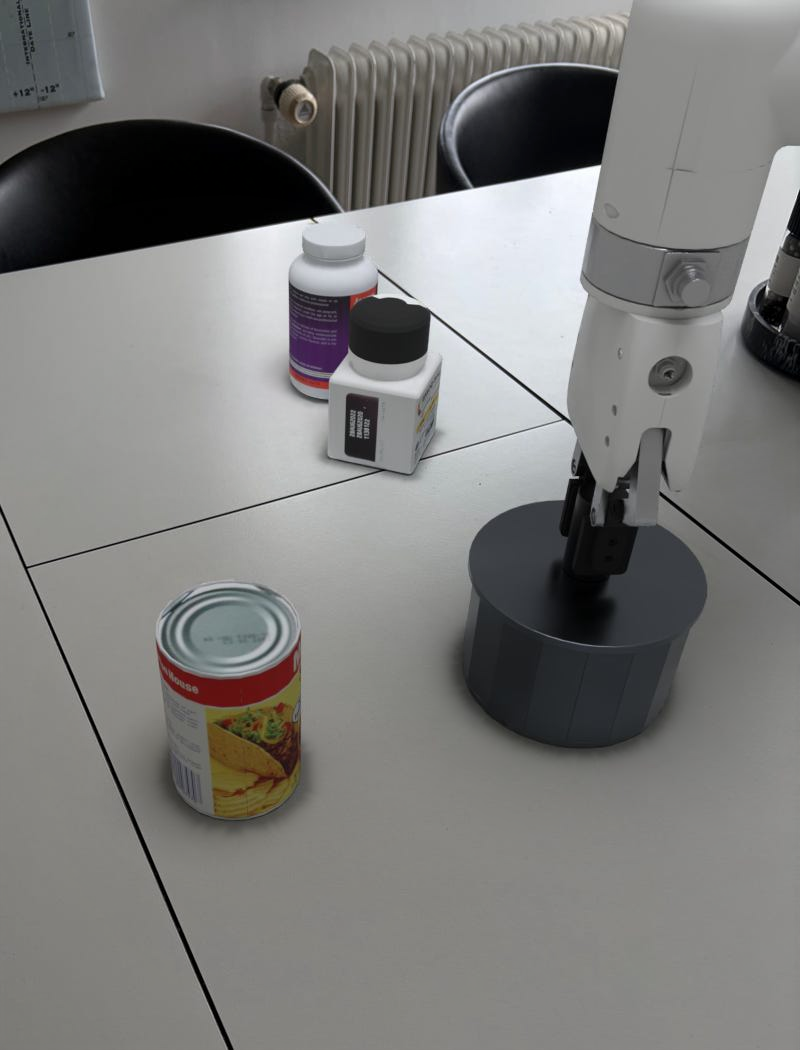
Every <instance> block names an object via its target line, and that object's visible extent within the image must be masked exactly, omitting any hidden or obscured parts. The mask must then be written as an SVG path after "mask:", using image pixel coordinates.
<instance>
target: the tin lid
mask: <svg viewBox="0 0 800 1050" xmlns="http://www.w3.org/2000/svg"><path fill="white" fill-rule="evenodd" d="M595 486H596V480H592V481H588V482H586V483H584V484H582V485H581V486H580V488H579V489H578V494H577V498H576V503H575V507H574V512H573V516H572V521H571V526H570V530H569V535H568V537H564V536H562V535H561V533H560V530H559V525H560V520H561V515H562V511H563V506H564V501H565V499H553V500H552V499H551V500H541V501H535V502H531V503H525V504H522V505H519V506H516V507H513V508H510V509H508V510H506V511H502V512H501V513H499V514H497V515H496V516H494V517H492V518H491V519H489V521H487V523H485V524H484V525H483V526H482V527H481V528H480V529H479V531H478V532H477V533H476V535H475V536H474V538H473V540H472V541H471V545H470V547H469V551H468V559H467V561H468V562H467V570H468V577H469V580H470V583H471V587H472V586H473V588H474V589H475V591H476V593H477V595H478V596H479V598H480V599H481V600H482V602H483V603H484V604H485V605H486V606H487V607H488V608H489V609H490V610H491V611H492V612H493V613H494V614H495V615H496V616H497V617H498V618H500V619H501V620H502V621H504V622H505V623H506V624H508V625H509V626H511V627H513V628H514V629H516V630H517V631H519V632H521V633H523V634H525V635H527V636H529V637H531V638H534V639H536V640H539V641H541V642H544V643H547V644H550V645H553V646H557V647H560V648H563V649H568V650H573V651H578V652H585V653H594V654H627V653H635V652H641V651H646V650H650V649H653V648H657V647H660V646H662V645H665V644H667V643H670V642H672V641H673V640H675V639H677V638H679V637H680V636H682V635H683V634H684V633H685V632H687V631H688V630H689V629H690V628H693V626H694V625H695V624H696V623H697V621H698V620H699V618H700V616H701V614H702V613H703V611H704V608H705V606H706V602H707V598H708V581H707V575H706V574H705V571H704V568H703V566H702V564H701V562H700V561H699V559H698V557H697V556H696V554H694V552H693V551H692V550H691V548H690V547H689V546H688V545H687V544H686V543H685V542H684V541H683V540H681V539H680V538H679V537H678V536H677V535H676V534H674V533H673V532H671V531H670V530H668V529H667V528H666V527H664V526H662V525H660V524H659V523H658V522H657V523H656V525H655V526H640V527H639V528H638V532H637V535H636V539H635V543H634V546H633V550H632V553H631V557H630V561H629V564H628V568H627V571H626V572H625V573H624V574H621V575H576V574H575V573H574V570H573V567H572V564H573V560H574V555H575V551H576V546H577V542H578V537H579V533H580V529H581V524H582V520H583V516H590V512H591V507H592V502H593V496H594V491H595ZM628 497H629V490H628V489H614V491H613V492H611V493H610V498H609V502H610V501H612V500H614V499H628ZM690 630H691V629H690Z"/></svg>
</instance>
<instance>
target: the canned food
mask: <svg viewBox="0 0 800 1050" xmlns="http://www.w3.org/2000/svg"><path fill="white" fill-rule="evenodd" d="M300 617H301V616H300V613H299V612H298V610H297V608H296V607H295V605H294V603H293V602H292V601H291V600H290V599H289V598H288V597H286V596H285V595H284V594H283V593H282V592H280V591H278V590H276V589H275V588H272V587H271V586H270V585H265V584H262V583H259V582H256V581H252V580H244V579H237V578H236V579H217V580H216V579H215V580H212V581H208V582H203V583H199V584H196V585H193V586H192V587H189V588H186V589H185V590H183V591H181V592H180V593H178V594H176V595H175V596H174V597H172V598H171V599H170V600H169V601H168V602H167V603H166V604H165V606H164V607H163V608H161V610H160V612H159V614H158V616H157V619H156V621H155V628H154V630H155V631H154V638H155V645H156V653H157V654H156V655H157V661H158V662H157V663H158V671H159V676H160V677H159V678H160V686H161V693H162V700H163V710H164V716H165V724H166V725H165V726H166V731H167V740H168V747H169V748H168V749H169V756H170V764H171V770H172V779H173V783H174V785H175V788H176V791H177V793H178V795H179V796H181V798H182V800H183V801H184V802H185V803H186V804H188V806H190V807H191V808H192V809H194V810H196V812H198V813H201V814H203V815H205V816H208V817H211V818H213V819H219V820H227V821H241V820H250V819H253V818H257V817H261V816H264V815H266V814H268V813H270V812H271V811H274V810H276V809H277V808H279V807H280V806H281V805H283V804H284V803H285V802H286V801H287V800H288V799H289V798H291V795H292V794H293V793H294V792H295V789H296V788H297V786H298V784H299V780H300V777H301V772H302V625H301V618H300Z"/></svg>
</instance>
